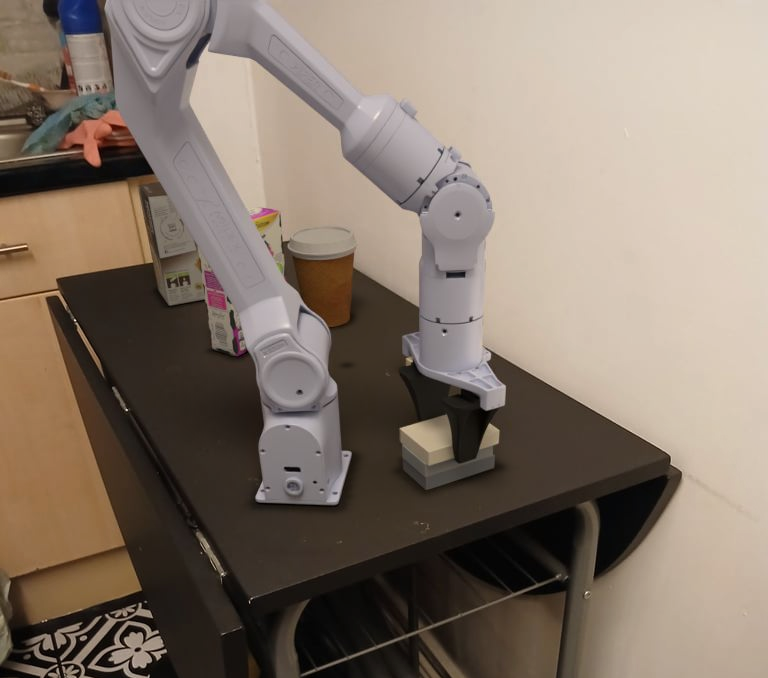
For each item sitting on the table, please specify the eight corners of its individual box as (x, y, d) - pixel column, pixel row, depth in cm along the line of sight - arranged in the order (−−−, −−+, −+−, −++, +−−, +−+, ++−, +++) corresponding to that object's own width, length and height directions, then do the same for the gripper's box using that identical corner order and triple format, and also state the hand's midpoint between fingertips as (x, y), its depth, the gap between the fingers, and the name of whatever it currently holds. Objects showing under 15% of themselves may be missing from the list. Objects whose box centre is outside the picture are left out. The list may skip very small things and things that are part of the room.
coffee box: (209, 299, 122) (192, 190, 113) (168, 307, 120) (147, 196, 111) (195, 282, 129) (177, 178, 120) (156, 289, 127) (135, 183, 118)
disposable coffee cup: (336, 336, 108) (330, 248, 102) (281, 324, 113) (272, 239, 106) (373, 314, 115) (370, 229, 108) (320, 303, 119) (313, 221, 112)
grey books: (469, 448, 82) (470, 423, 81) (494, 467, 79) (496, 441, 77) (401, 470, 79) (401, 444, 77) (425, 491, 76) (425, 464, 74)
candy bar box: (239, 358, 103) (220, 230, 94) (211, 350, 106) (190, 224, 96) (293, 330, 111) (281, 208, 101) (266, 323, 113) (252, 204, 104)
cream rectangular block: (467, 420, 81) (467, 407, 80) (498, 443, 77) (499, 430, 76) (399, 441, 78) (398, 427, 77) (428, 466, 74) (428, 452, 73)
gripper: (538, 329, 66) (527, 467, 74) (445, 281, 77) (443, 407, 84) (468, 347, 63) (463, 489, 71) (381, 295, 74) (386, 424, 82)
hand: (448, 446), depth 78 cm, fingers closed on cream rectangular block, 5 cm apart
